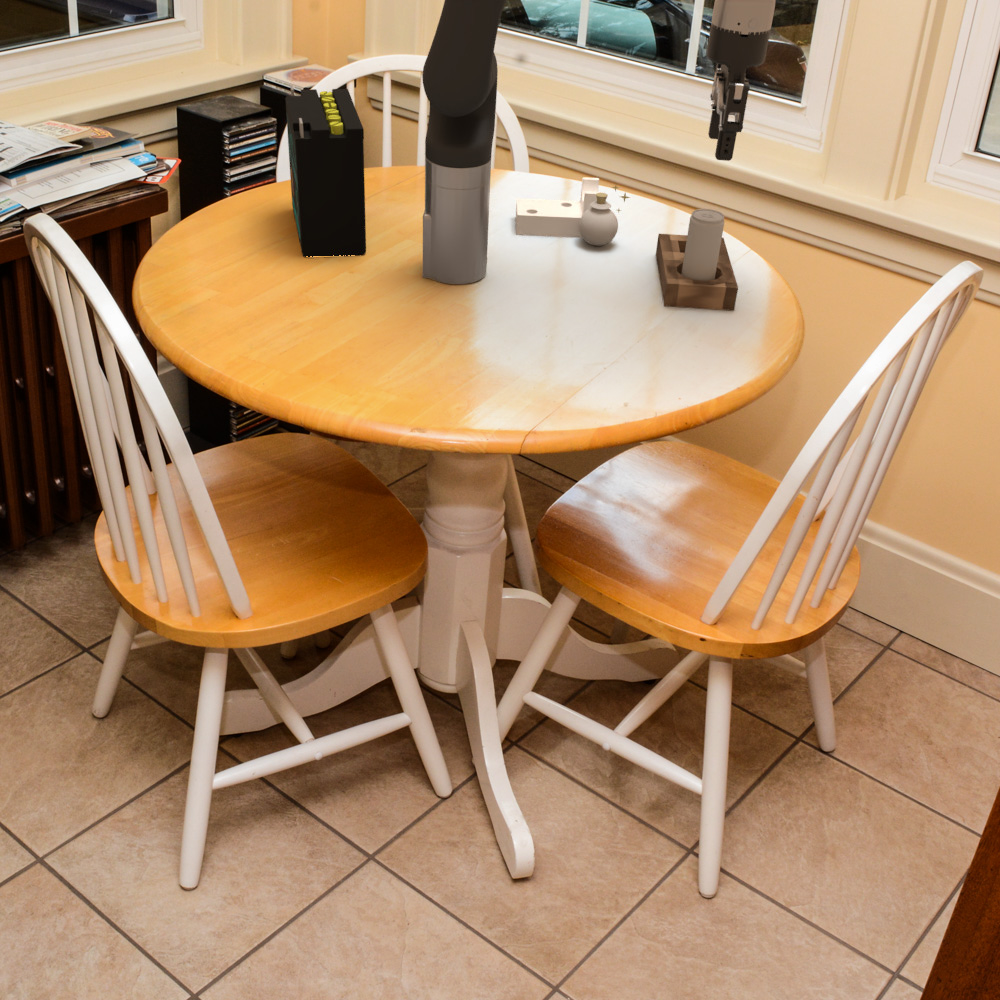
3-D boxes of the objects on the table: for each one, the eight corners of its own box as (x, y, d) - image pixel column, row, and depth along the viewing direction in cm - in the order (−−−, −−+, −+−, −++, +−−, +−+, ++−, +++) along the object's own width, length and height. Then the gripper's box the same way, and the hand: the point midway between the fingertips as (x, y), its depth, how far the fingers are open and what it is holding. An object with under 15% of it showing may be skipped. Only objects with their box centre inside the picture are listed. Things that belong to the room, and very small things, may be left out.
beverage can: (710, 302, 162) (724, 223, 155) (677, 297, 162) (689, 218, 155) (712, 288, 166) (726, 210, 159) (680, 284, 166) (692, 206, 159)
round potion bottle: (578, 235, 180) (584, 174, 174) (624, 239, 179) (632, 177, 173) (576, 250, 175) (582, 187, 169) (624, 254, 174) (631, 191, 168)
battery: (292, 209, 182) (284, 84, 171) (351, 207, 184) (347, 83, 173) (302, 258, 167) (294, 124, 156) (366, 255, 169) (363, 122, 158)
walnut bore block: (664, 306, 160) (667, 283, 158) (655, 254, 175) (658, 233, 172) (733, 310, 160) (738, 288, 158) (719, 258, 174) (723, 237, 172)
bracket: (594, 222, 185) (598, 178, 180) (597, 239, 179) (601, 194, 175) (515, 219, 184) (518, 174, 180) (516, 236, 179) (518, 190, 174)
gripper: (706, 7, 148) (687, 130, 157) (718, 33, 136) (696, 164, 146) (763, 11, 148) (740, 134, 157) (779, 38, 136) (754, 169, 146)
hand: (719, 148), depth 151 cm, fingers open, 8 cm apart
